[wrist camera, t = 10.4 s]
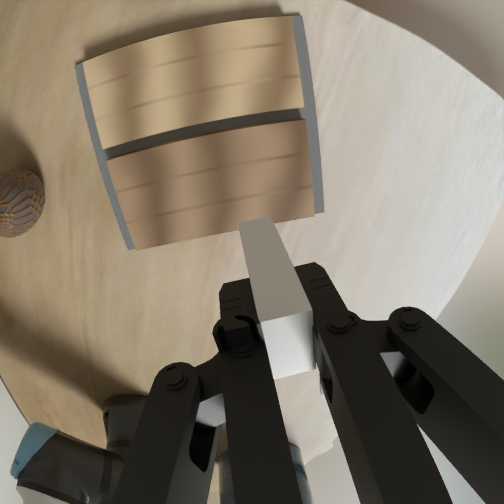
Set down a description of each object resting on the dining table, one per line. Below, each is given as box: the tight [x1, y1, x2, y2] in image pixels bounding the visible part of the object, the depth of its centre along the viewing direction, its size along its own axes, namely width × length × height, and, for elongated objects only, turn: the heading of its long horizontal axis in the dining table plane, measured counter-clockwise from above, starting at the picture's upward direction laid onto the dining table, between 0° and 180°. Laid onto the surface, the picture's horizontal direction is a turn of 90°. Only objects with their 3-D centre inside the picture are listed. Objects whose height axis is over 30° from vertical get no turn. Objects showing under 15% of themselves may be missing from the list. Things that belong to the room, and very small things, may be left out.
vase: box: [0, 168, 45, 238], centre depth 24 cm, size 7×7×9 cm
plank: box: [82, 16, 304, 149], centre depth 24 cm, size 19×9×2 cm, turn 98°
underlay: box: [75, 16, 324, 250], centre depth 28 cm, size 22×21×1 cm
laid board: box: [106, 118, 315, 250], centre depth 29 cm, size 19×10×2 cm, turn 98°
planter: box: [218, 444, 314, 504], centre depth 59 cm, size 22×22×20 cm
